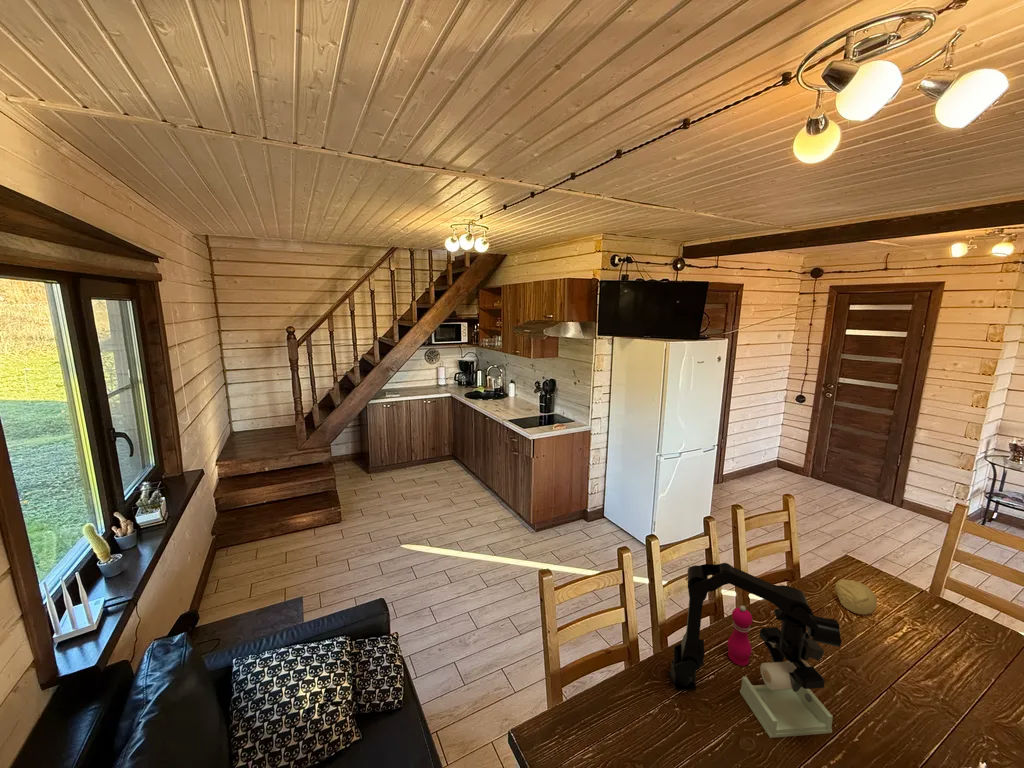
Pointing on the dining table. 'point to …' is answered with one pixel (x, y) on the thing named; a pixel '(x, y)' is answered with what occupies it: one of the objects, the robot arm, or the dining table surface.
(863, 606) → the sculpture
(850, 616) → the dining table surface
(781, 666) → the kitchen roll
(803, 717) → the roll cradle
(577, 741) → the dining table surface
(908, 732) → the dining table surface
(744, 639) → the pepper mill
